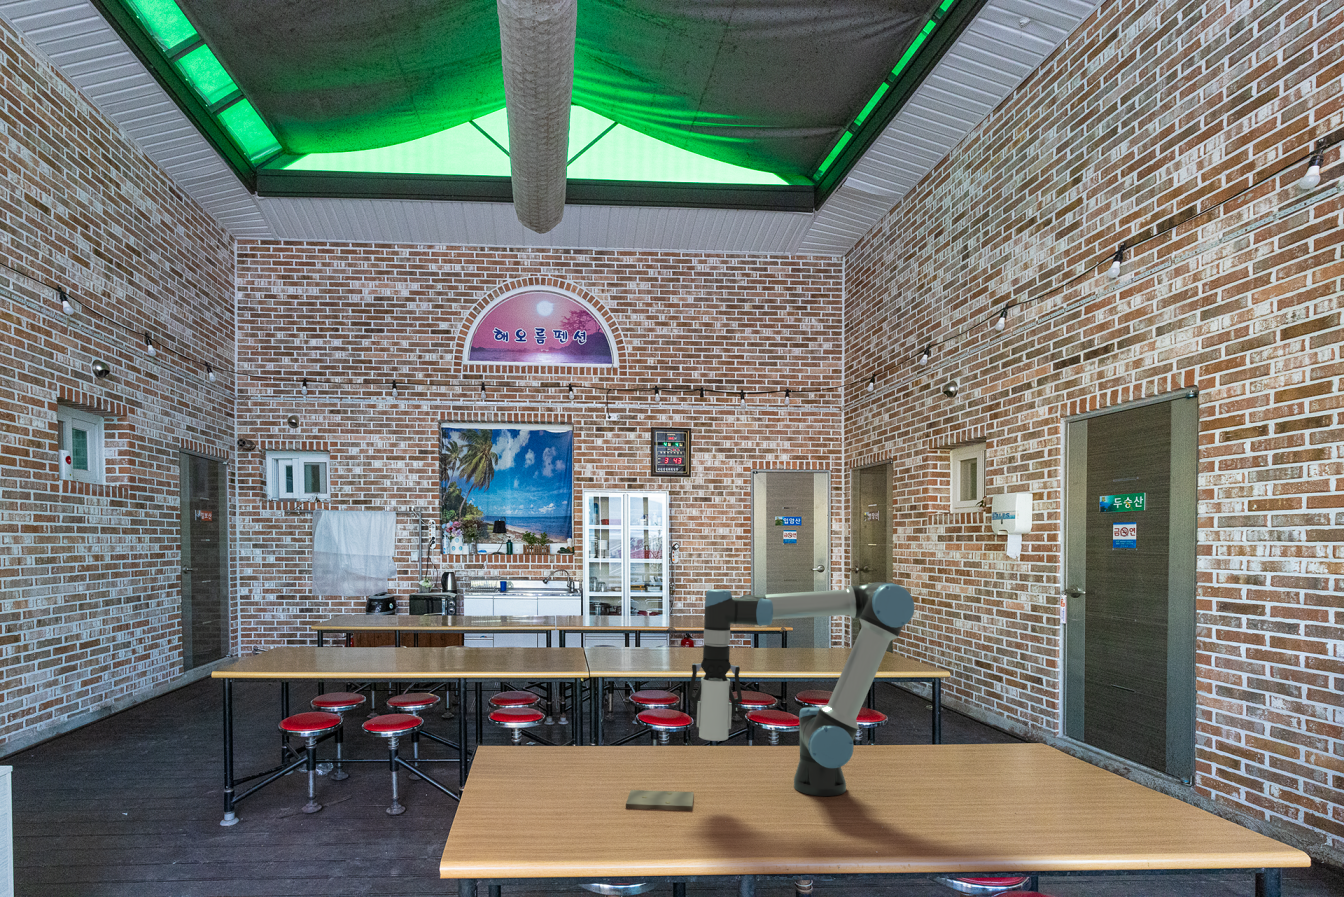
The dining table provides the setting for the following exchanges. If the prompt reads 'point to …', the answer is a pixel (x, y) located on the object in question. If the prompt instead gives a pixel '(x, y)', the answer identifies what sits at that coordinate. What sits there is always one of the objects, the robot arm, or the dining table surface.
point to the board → (660, 800)
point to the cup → (714, 709)
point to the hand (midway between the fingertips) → (713, 726)
